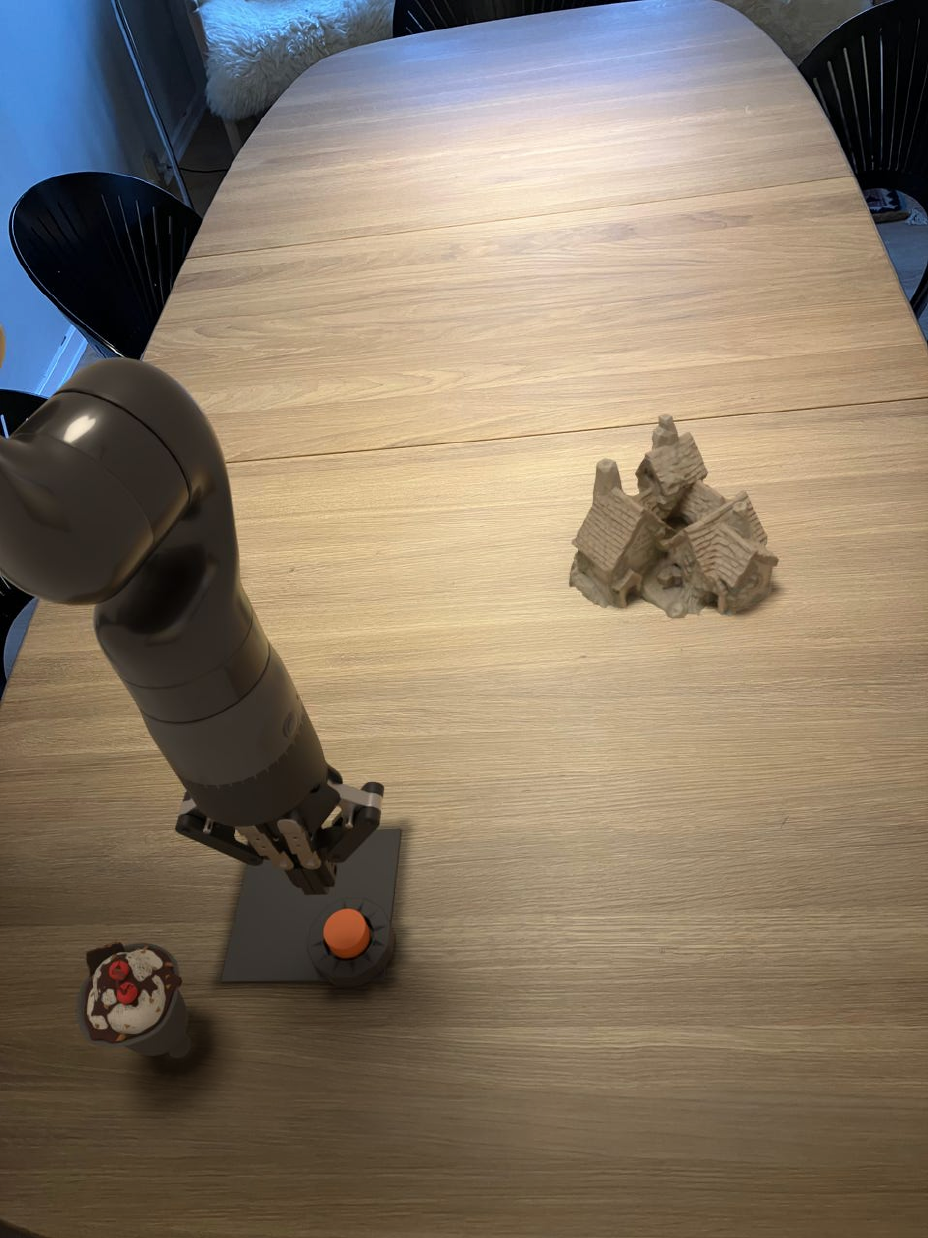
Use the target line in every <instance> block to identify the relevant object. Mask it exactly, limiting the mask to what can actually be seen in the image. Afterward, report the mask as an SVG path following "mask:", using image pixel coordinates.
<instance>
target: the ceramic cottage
mask: <svg viewBox="0 0 928 1238" xmlns="http://www.w3.org/2000/svg"><path fill="white" fill-rule="evenodd" d="M657 419H658V425H657V426H655V428H653V430H652V436H651V441H652V442H651V443H652V445H651V450H649V451H646V452H645V453H644V457H643V459H642V460H641V462H640V463H639V465H638V467H637V469H636V471H635V473H634V475H635V477H636V478H637V483H636V484H637V485H636V486H637V489H638V493H637V494H635V495H630V494H627V492H625V491H624V489H623V487H622V479H621V475H620V471H619V467H618V464H617V461H615V460H613V459H610V458H604V457H603V458H602V459H601V460H599V461H598V462H596V466H595V478H594V483H593V489H592V502H591V506H590V508H589V510H588V512H587V514H586V516H585V518H584V519H583V521H582V523H581V526H580V527H579V528H578V530H577V533H576V537H575V538H573V539H571V545H572V546H573V547H575V548H577V551H576V552H575V553H574V556H573V561H572V564H571V567H570V572H569V578H568V579H569V580H568V586H569V587H570V588H576V590H578V591H579V592H580V593H581V596H582V597H584V598H585V599H587V600H588V601H590V602H591V603H592V604H593V605H595V606H599V608H602V609H607V608H608V607H612V608H617V609H618V608H619V609H625V610H627V608H626V607H627V606H628V603H629V602H631V601H632V600H633V599H634V597H637V598H641V599H642V600H644V601H645V602H647V603H648V604H651V605H653V606H655V607H656V608H658V609H660V610H661V611H664V613H665V614H666V616H667V618H669V619H673V620H674V619H675V620H677V619H678V620H679V619H684V618H686V616H687V615H696V616H697V617H699V616H701V617H702V616H703V615H702V614H701V612H702V610H704V608H705V607H706V606H707V605H708V604H709V603H710V602H713V601H715V602H716V604H717V607H716V611H717V613H718V614H720V617H722V616H726V617H731V616H736V613H737V612H738V611H743V609H747V608H751V606H752V605H753V604H756V603H758V602H760V601H761V600H764V598H767V597H768V596H769V595H770V594H771V592H772V590H773V589H772V588H773V587H772V585H771V583H770V581H771V578H772V574H773V568H775V567H778V564H779V561H780V558H778V556H777V555H775V554H774V552H772V551H771V550H769V549H768V548H767V547H766V545H767V544H768V534H767V533H766V531H765V529H764V527H763V525H762V522H761V521H760V519H759V517H758V515H757V512H756V510H755V509H754V506H753V503H752V501H751V499H750V496H749V495H748V493H747V491H746V490H740V491H739V492H738V493H737V494H736V495H735V496H734V497H732V498H726V497H725V496H723V495H722V494H721V493H719V492H718V491H717V490H716V489H714V488H712V487H711V486H710V485H709V484H705V483H704V480H705V479H706V478H707V476H708V474H709V471H708V469H707V468H706V467H707V466H706V465H705V462H704V459H703V456H702V454H701V452H700V450H699V447H698V445H697V444H696V441H695V438H694V436H693V434H692V433H691V432H690V431H686V432H684V433H683V434H681V435H680V436H679V432H678V430H677V429H678V428H677V427H676V424H675V422H674V418H673V415H671V414H669V413H661V414H659V415H658V418H657Z"/></svg>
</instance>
